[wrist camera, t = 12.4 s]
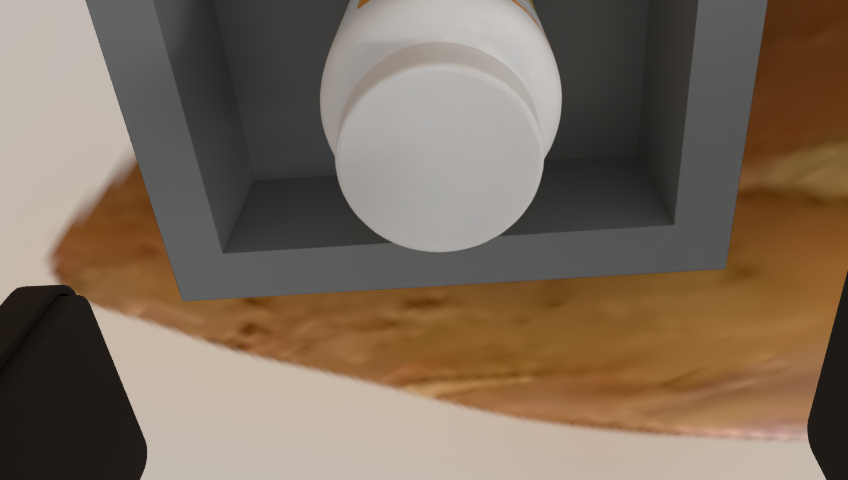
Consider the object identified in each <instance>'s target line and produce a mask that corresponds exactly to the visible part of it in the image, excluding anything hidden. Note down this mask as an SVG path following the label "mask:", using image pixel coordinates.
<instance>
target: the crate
mask: <svg viewBox="0 0 848 480" xmlns="http://www.w3.org/2000/svg"><path fill="white" fill-rule="evenodd" d="M767 2H768V0H532V3H533V5H534V8H535V11H536V13H537V16H538V18H539V21H540V23H541V25H542V28H543V30H544V32H545V35H546V37H547V40H548V42H549V44H550V47H551V50H552V52H553V55H554V58H555V61H556V64H557V68H558V72H559V76H560V82H561V91H562V105H561V115H560V121H559V125H558V129H557V133H556V135H555V138H554V141H553V143H552V146H551V148H550V150H549V152H548V153H547V155H546V157H545V158H544V165H543V172H542V176H541V180H540V184H539V186H538V189H537V192H536V194H535V196H534V198H533V200H532V202H531V203H530V205H529V206H528V208H527V209H526V210H525V212H524V213H523V214H522V216H521V217H520V218H519V219H518V220H517V221H516V222H515V223H514V224H513V225H512V226H510V227H509V228H508V229H507V230H505V231H504V232H503V233H501V234H500V235H498V236H496V237H494V238H492V239H491V240H489V241H487V242H485V243H483V244H480V245H478V246H474V247H471V248H467V249H463V250H458V251H450V252H428V251H420V250H414V249H410V248H407V247H403V246H400V245H398V244H395V243H393V242H391V241H389V240H387V239H385V238H383V237H382V236H380V235H379V234H377V233H375V232H374V231H373V230H372V229H370V228H369V227H368V226H367V225H366V224H365V223H364V222H363V221H362V220H361V219H360V218H359V217H358V216H357V215H356V214H355V212H354V211H353V210H352V208H351V207H350V205H349V204H348V202H347V200H346V198H345V196H344V195H343V193H342V190H341V187H340V184H339V181H338V177H337V172H336V166H335V156H334V154H333V152H332V150H331V148H330V146H329V143H328V140H327V138H326V135H325V132H324V128H323V124H322V118H321V110H320V91H321V82H322V76H323V71H324V67H325V63H326V60H327V57H328V54H329V51H330V48H331V46H332V43H333V41H334V38H335V36H336V33H337V31H338V28H339V26H340V23H341V21H342V18H343V16H344V13H345V11H346V8H347V5H348V3H349V0H86V3H87V6H88V9H89V12H90V15H91V19H92V22H93V25H94V28H95V31H96V34H97V37H98V40H99V43H100V47H101V50H102V52H103V56H104V59H105V62H106V65H107V68H108V71H109V74H110V78H111V81H112V84H113V87H114V90H115V93H116V96H117V99H118V102H119V105H120V109H121V112H122V115H123V118H124V121H125V124H126V127H127V130H128V133H129V136H130V140H131V143H132V146H133V149H134V152H135V155H136V158H137V161H138V164H139V167H140V171H141V174H142V177H143V180H144V183H145V186H146V189H147V192H148V195H149V198H150V202H151V205H152V208H153V211H154V214H155V217H156V220H157V223H158V226H159V229H160V232H161V236H162V239H163V242H164V245H165V248H166V251H167V254H168V257H169V260H170V263H171V267H172V270H173V273H174V276H175V279H176V282H177V285H178V288H179V291H180V294H181V298H182V301H196V300H213V299H230V298H247V297H263V296H280V295H297V294H314V293H331V292H347V291H364V290H381V289H398V288H414V287H431V286H448V285H465V284H482V283H498V282H515V281H532V280H549V279H566V278H582V277H599V276H616V275H633V274H649V273H666V272H683V271H700V270H717V269H726V262H727V256H728V249H729V243H730V237H731V230H732V224H733V218H734V211H735V205H736V199H737V192H738V186H739V180H740V173H741V167H742V161H743V154H744V148H745V142H746V135H747V129H748V123H749V116H750V110H751V104H752V97H753V91H754V85H755V78H756V72H757V66H758V59H759V53H760V47H761V40H762V34H763V28H764V21H765V15H766V9H767Z"/></svg>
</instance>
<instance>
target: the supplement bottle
mask: <svg viewBox="0 0 848 480" xmlns="http://www.w3.org/2000/svg"><path fill="white" fill-rule="evenodd" d="M561 105H562V91H561V82H560V76H559V72H558V68H557V64H556V61H555V58H554V55H553V52H552V50H551V47H550V44H549V42H548V40H547V37H546V35H545V32H544V30H543V28H542V25H541V23H540V21H539V18H538V16H537V13H536V11H535V8H534V5H533V3H532V0H349V3H348V5H347V8H346V11H345V13H344V16H343V18H342V21H341V23H340V26H339V28H338V31H337V33H336V36H335V38H334V41H333V43H332V46H331V48H330V51H329V54H328V57H327V60H326V63H325V67H324V71H323V76H322V82H321V91H320V110H321V118H322V124H323V128H324V132H325V135H326V138H327V140H328V143H329V146H330V148H331V150H332V152H333V154H334V156H335V166H336V172H337V177H338V181H339V184H340V187H341V190H342V193H343V195H344V196H345V198H346V200H347V202H348V204H349V205H350V207H351V208H352V210H353V211H354V212H355V214H356V215H357V216H358V217H359V218H360V219H361V220H362V221H363V222H364V223H365V224H366V225H367V226H368V227H369V228H370V229H372V230H373V231H374V232H375V233H377V234H379V235H380V236H382V237H383V238H385V239H387V240H389V241H391V242H393V243H395V244H398V245H400V246H403V247H407V248H410V249H414V250H420V251H428V252H450V251H458V250H463V249H467V248H471V247H474V246H478V245H480V244H483V243H485V242H487V241H489V240H491V239H492V238H494V237H496V236H498V235H500V234H501V233H503V232H504V231H505V230H507V229H508V228H509V227H510V226H512V225H513V224H514V223H515V222H516V221H517V220H518V219H519V218H520V217H521V216H522V214H523V213H524V212H525V210H526V209H527V208H528V206H529V205H530V203H531V202H532V200H533V198H534V196H535V194H536V192H537V189H538V186H539V184H540V180H541V176H542V172H543V165H544V158H545V157H546V155H547V153H548V152H549V150H550V148H551V146H552V143H553V141H554V138H555V135H556V133H557V129H558V125H559V121H560V115H561Z"/></svg>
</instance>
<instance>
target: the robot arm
mask: <svg viewBox="0 0 848 480" xmlns="http://www.w3.org/2000/svg"><path fill="white" fill-rule="evenodd" d="M807 430H808V439H809V443H810V447H811V450H812V452H813V454H814V456H815V458H816V460H817V462H818V464H819V466H820V468H821V470H822V472H823V474H824V476H825V478H826V480H848V272H847V276H846V279H845V283H844V287H843V291H842V294H841V298H840V302H839V306H838V310H837V313H836V317H835V321H834V325H833V328H832V332H831V336H830V340H829V343H828V347H827V351H826V355H825V359H824V362H823V366H822V370H821V374H820V377H819V381H818V385H817V389H816V393H815V396H814V400H813V404H812V408H811V411H810V415H809V419H808V425H807ZM146 460H147V445H146V442H145V439H144V437H143V434H142V431H141V429H140V426H139V424H138V422H137V420H136V416H135V414H134V412H133V409H132V407H131V404H130V402H129V399H128V397H127V394H126V392H125V390H124V387H123V384H122V382H121V380H120V377H119V375H118V372H117V370H116V367H115V365H114V362H113V360H112V358H111V355H110V353H109V350H108V348H107V345H106V343H105V341H104V338H103V336H102V333H101V330H100V328H99V326H98V323H97V321H96V318H95V316H94V313H93V311H92V308H91V306H90V304H89V302H88V300H87V299H86V298H85V297H84V296H80V295H76V293H75V292H74V290H73V289H71V288H70V287H69V286H66V285H47V286H26V287H20V288H17V289H15V290H14V291H13V292H12V293H11V294H10V295H9V296H8V297H7V299H6V300H5V301H4V302H3V303H2V304H1V306H0V480H140V478H141V476H142V473H143V471H144V468H145V465H146Z"/></svg>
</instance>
